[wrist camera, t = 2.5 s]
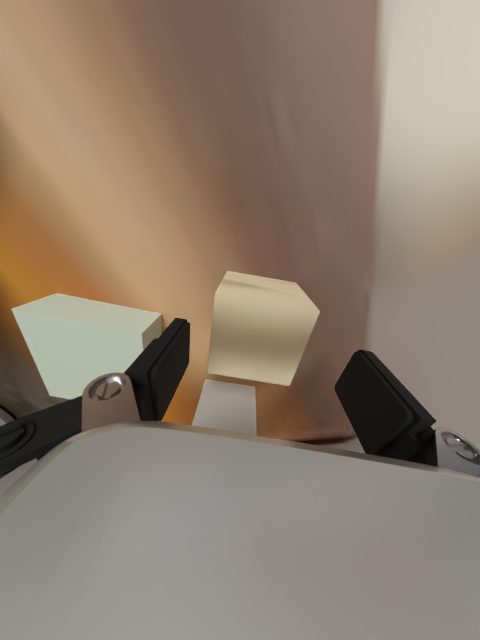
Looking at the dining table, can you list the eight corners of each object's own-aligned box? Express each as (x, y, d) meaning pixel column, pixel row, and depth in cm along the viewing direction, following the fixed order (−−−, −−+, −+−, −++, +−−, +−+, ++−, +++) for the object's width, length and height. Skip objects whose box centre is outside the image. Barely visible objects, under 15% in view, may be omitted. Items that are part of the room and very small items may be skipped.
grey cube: (246, 417, 24) (245, 470, 19) (202, 410, 24) (189, 462, 19) (255, 386, 21) (256, 438, 16) (205, 378, 21) (190, 429, 16)
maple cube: (278, 339, 18) (289, 386, 13) (220, 330, 18) (207, 373, 13) (295, 282, 15) (319, 311, 10) (227, 270, 15) (214, 293, 10)
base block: (163, 382, 22) (147, 412, 19) (82, 368, 22) (49, 395, 18) (163, 312, 18) (141, 333, 14) (60, 292, 17) (11, 308, 14)
